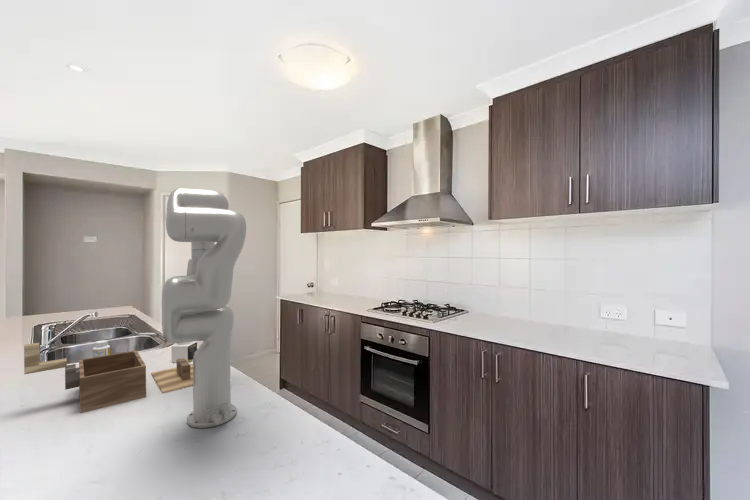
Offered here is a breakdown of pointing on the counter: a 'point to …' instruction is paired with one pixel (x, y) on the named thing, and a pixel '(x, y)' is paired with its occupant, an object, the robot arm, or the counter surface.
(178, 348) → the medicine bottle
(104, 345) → the supplement bottle
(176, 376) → the lid
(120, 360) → the brown wooden box
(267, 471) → the counter surface
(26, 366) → the bent tan strip
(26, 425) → the counter surface
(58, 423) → the counter surface
